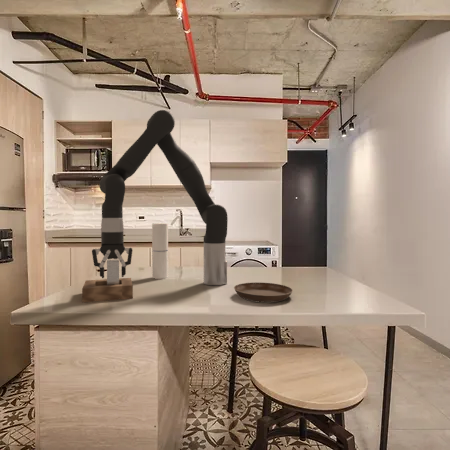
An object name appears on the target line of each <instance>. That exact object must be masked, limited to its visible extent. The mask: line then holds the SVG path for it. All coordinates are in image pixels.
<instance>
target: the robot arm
mask: <svg viewBox="0 0 450 450" xmlns="http://www.w3.org/2000/svg"><path fill="white" fill-rule="evenodd" d="M175 125H176V121H175V117H174V116H173V114H172V113H170V111H168V110H164V109H160V110H157V111H155V112H154V113H153V114H152V115H151V116H150V118H149V119H148V120H147V123H146V128H145V130H144V131H143V132H142V134H141V135H140V136H139V137H138V139H136V140H135V141H134V142H133V143H132V144H131V146H129V148H128V149H127V150H126V151H125V152H124V153H123V155H122V156H121V157H119V159H118V161H117V162H116V164H114V166H112V167H111V168H109V170H108V171H107V172H105V174H104V175H103V177H101V179H100V181H99V185H98V186H99V189H100V191H101V193H103V194H104V201H103V203H102V205H101V221H100V222H101V223H100V225H101V226H100V236H101V237H100V238H101V239H100V241H101V242H100V243H101V244H100V245H101V246H100V248H93V249H91V254H92V261H93V265H94V267H98V268H99V276H100V277H101V278H102V279H105V267H104V266H105V264H106V263H107V260H115V259H119V263H120V264H121V278H125V277H124V276H126V274H127V273H126V272H127V271H126V270H127V268H126V267H127V266H129V265H131V263H132V256H133V248H132V247H125V244H124V240H125V238H124V229H125V228H124V217H123V212H124V211H123V203H124V199H125V195H126V193H125V192H126V183H125V182H126V181H127V180H128V179H129V178H131V177H132V176H133V175H134V174H135V173H136V172H137V171H138V169H140V167H141V166H142V164H143V163H144V162H145V160H146V158H147V157H148V156H149V154H150V153H151V152H152V151H153V150H154V148H155V147H156V145H157V146H158V148H159V149H160V151H161V152H162V153H163V155H164V156H165V158H166V160H167V162H168V163H169V166H171V168H172V170H173V172H174V173H175V175H176V177H177V178H178V180H179V182H180V184H182V186H183V188H184V190H185V191H186V193H187V194H188V195H189V196H190V199H192V201H193V203H194V204H195V205H194V206H195V207H196V209H197V211H198V214H199V216H200V218H201V219H202V221H203V223H205V234H204V235H203V284H204V285H206V286H207V285H208V286H221V285H226V284H228V261H227V260H226V238H227V235H228V220H229V218H228V212H227V209H226V208H225V207H224V206H223V205H221V204H216V203H215V202H214V200H213V199H212V197H211V196H210V195H209V192H208V190H207V187H206V184H205V180H204V177H203V174H202V172H201V170H200V168H199V167H198V165H197V164H196V162H195V160H194V159H193V158H192V157H191V156H190V154H188V153H187V152H186V151H185V150H183V149H182V148H181V147H180V146H179V144H178V143H177V142H176V141H175V139H174V136H173V134H172V131H173V130H174V128H175ZM99 252H100V253H101V254H102V256H103V257H102V259H101V262H98V261H99V260H98V255H99ZM125 252H126V254H127V261H124V258H123V257H122V255H123V253H125Z"/></svg>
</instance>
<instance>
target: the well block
mask: <svg viewBox="0 0 450 450" xmlns="http://www.w3.org/2000/svg"><path fill="white" fill-rule="evenodd" d="M133 288H134V285H133V281H132V277H119V285H107V278H102V279H89V280H85V282H84V284H83V286H82V289H81V292H82V293H81V294H82V298H81V299H82V303H91V302H92V303H93V302H103V301H104V302H105V301H115V300H116V301H117V300H127V299H128V300H129V299H133V297H134V291H133V290H134V289H133Z"/></svg>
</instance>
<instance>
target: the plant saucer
mask: <svg viewBox="0 0 450 450" xmlns="http://www.w3.org/2000/svg"><path fill="white" fill-rule="evenodd" d="M233 289H234V291H235V293H236V294H237V295H238V296H239V297H240V298H242V299H243V300H246V301H250V302H255V303H279V302H282V301H285V300H286V299H288V298H289V297H290V296H291V294H292V293H293V292H294V290H293V288H291V287H290V286H286V285H285V284H278V283H272V282H245V283H239V284H237V285H235V286H234V287H233Z"/></svg>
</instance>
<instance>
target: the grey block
mask: <svg viewBox="0 0 450 450" xmlns="http://www.w3.org/2000/svg"><path fill="white" fill-rule="evenodd" d="M106 279H107V285H119V279H120V261H119V259H107V260H106Z"/></svg>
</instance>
